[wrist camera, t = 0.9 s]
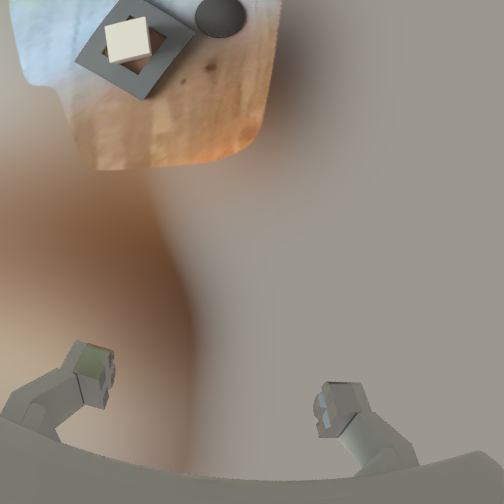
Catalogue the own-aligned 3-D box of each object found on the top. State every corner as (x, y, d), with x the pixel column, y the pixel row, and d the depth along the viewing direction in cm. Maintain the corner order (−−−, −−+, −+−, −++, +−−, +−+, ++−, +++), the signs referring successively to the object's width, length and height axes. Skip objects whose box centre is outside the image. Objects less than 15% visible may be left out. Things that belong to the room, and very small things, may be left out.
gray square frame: (78, 61, 34) (74, 61, 32) (129, -6, 30) (127, -9, 28) (143, 99, 40) (142, 101, 38) (194, 34, 37) (196, 32, 35)
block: (121, 63, 36) (109, 62, 27) (117, 35, 33) (104, 26, 24) (152, 56, 37) (149, 52, 28) (148, 28, 34) (145, 16, 25)
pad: (184, 20, 35) (185, 20, 35) (216, -13, 33) (217, -14, 32) (222, 46, 39) (223, 46, 38) (252, 14, 37) (254, 13, 36)
